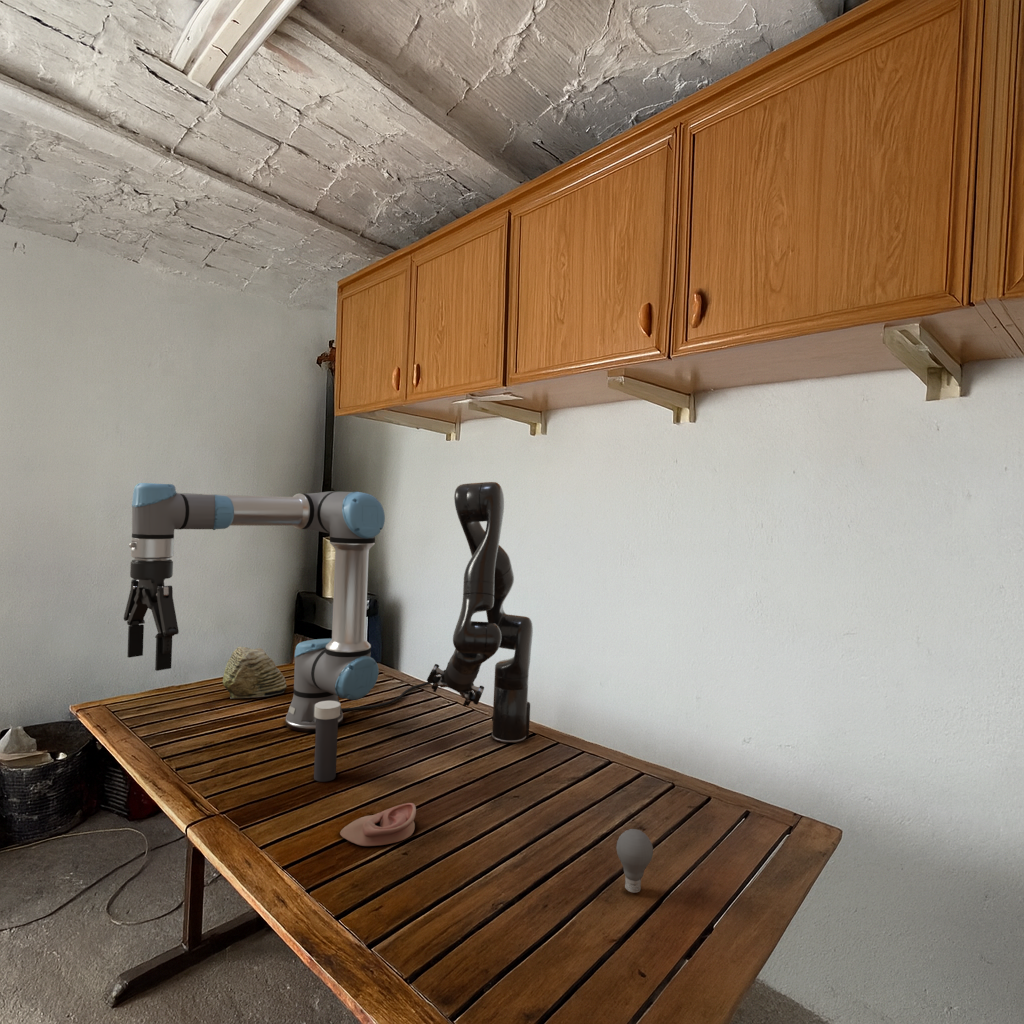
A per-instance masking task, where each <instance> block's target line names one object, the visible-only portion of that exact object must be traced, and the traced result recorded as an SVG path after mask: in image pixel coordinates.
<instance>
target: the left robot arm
mask: <svg viewBox="0 0 1024 1024" xmlns="http://www.w3.org/2000/svg"><path fill="white" fill-rule="evenodd" d="M385 515H386V513H385V511H384V508H383V505H382V503H381V502H380V501H379V500H378V498H377V497H375V495H373V494H370V493H367V492H363V491H362V492H361V491H337V490H336V491H335V490H333V491H332V490H330V491H321V492H311V493H295V494H294V495H293V496H276V495H275V496H274V495H273V496H272V495H248V494H247V495H246V494H244V495H243V494H220V493H219V494H218V493H217V494H216V493H215V494H214V493H189V492H187V493H186V492H177V491H176V486H175V485H174V484H173V483H152V482H139V483H137V484H136V485H135V486H134V488H133V492H132V501H131V520H132V521H131V542H130V543H128V547H129V548H130V549H131V550H130V556H131V558H133V559H132V560H131V561H130V567H129V568H130V571H129V574H130V575H129V576H130V578H131V581H130V590H129V594H128V598H127V603H126V607H125V610H124V615H123V621H124V622H126V624H127V626H128V629H127V630H128V631H127V658H135V657H142V656H144V635H145V634H144V630H145V625H144V624H145V623H146V621H145V619H144V618H145V616H146V615H147V612H148V609H149V610H151V613H152V618H153V620H154V624H155V627H156V631H157V633H156V635H155V636H154V638H155V661H154V663H155V665H154V668H155V669H154V670H155V671H157V672H159V671H164V670H169V669H172V659H173V657H172V655H173V637H175V636H176V635H179V632H180V631H179V625H178V619H177V615H176V614H177V613H176V609H175V603H174V597H173V595H174V593H173V585H165V580H167V579H171V578H172V577H173V575H174V573H173V572H174V561H173V560H172V559H171V558H173V557H174V554H175V553H174V552H175V530H213V531H215V530H224V529H228V528H230V526H233V527H234V526H237V527H238V526H240V527H243V526H246V527H247V526H249V527H250V526H258V527H259V526H268V527H269V526H276V527H277V526H282V527H284V526H285V527H286V526H287V527H288V526H289V527H290V526H291V527H293V528H294V529H296V530H308V531H309V530H310V531H316V532H319V533H325V534H329V544H330V545H331V546H332V547H333V548H334V550H335V551H334V572H333V573H334V577H333V599H332V625H331V626H332V627H331V638H317V639H308V640H304V641H300V642H299V643H297V645H296V646H295V650H294V655H293V657H294V672H293V673H294V674H293V695H292V696H293V697H292V699H291V702H290V704H289V708H288V711H287V713H286V715H285V726H286V728H287V729H289V730H291V731H294V732H295V731H296V732H301V733H316V718H315V716H314V711H315V704H316V703H318V702H321V701H337V702H339V703H340V704H341V702H340V699H339V698H341V699H342V700H343V699H344V700H348V701H349V700H350V701H357V700H360V699H362V698H364V697H365V696H367V695H368V694H370V692H371V690H372V689H374V687H375V685H376V683H377V682H378V678H379V674H380V672H379V671H380V670H379V669H380V668H379V665H378V663H377V662H376V660H375V659H374V657H371V652H372V649H371V648H372V644H371V643H370V642H368V640H367V639H366V631H367V607H368V606H367V605H368V604H367V602H368V582H369V581H368V579H369V555H370V553H369V552H370V550H371V548H372V547H374V545H375V544H376V536H378V535H379V534H380V533H381V530H383V528H384V526H385V522H386V521H385V520H386V516H385ZM431 684H432V685H433V683H432V682H428V681H426V682H423V683H419V684H416V685H413V686H411V687H408V688H407V689H406V690H404V691H403V692H401V694H400V695H398V696H396V697H395V698H393V699H391V700H388V701H385V702H381V703H378V704H377V703H376V704H371V705H364V706H362V705H361V706H353V707H343V708H342V706H341V707H340V716H339V717H338V727H339V726H340V725H342V723H343V722H344V713H343V712H354V711H361V710H362V711H363V710H370V709H377V708H382V707H385V706H389V705H392V704H393V703H396V702H397V701H399V700H401V699H402V698H403V697H404V696H405V695H406V694H408V693H409V692H411V691H412V690H415V689H418V688H422V687H425V686H428V685H431Z"/></svg>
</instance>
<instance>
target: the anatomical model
mask: <svg viewBox="0 0 1024 1024" xmlns="http://www.w3.org/2000/svg"><path fill="white" fill-rule="evenodd" d="M416 806H417V805H415V803H413V802H406V803H402V804H398V805H395V806H392V807H390V808H387V809H385V810H382V811H380V812H378V813H375V814H373V815H372V814H371V815H364V816H362V817H359V818H357V819H355V820H353V821H351V822H349V823H348V824H347V825H345V826H344V827H343V828H342V829H341V830H340V832H339V835H340V837H342V838H343V839H345V840H346V841H348V842H349V843H352V844H355V845H357V846H359V847H376V846H384V845H385V846H386V845H389V844H395V843H398V842H401V841H403V840H406V839H408V838H410V837H411V836H412V835H413V833H414V832H415V828H416V823H415V821H414V820H415V819H416V815H417V807H416Z"/></svg>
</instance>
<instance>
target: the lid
mask: <svg viewBox="0 0 1024 1024" xmlns="http://www.w3.org/2000/svg"><path fill="white" fill-rule="evenodd" d="M339 702H340V701H339ZM339 702H337V701H321V702H318V703H316V704H315V711H314V716H315V718H317V719H323V720H327V719H334V718H337V717H339V716H340V707H341V708H342V706H341V702H340V703H339Z"/></svg>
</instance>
